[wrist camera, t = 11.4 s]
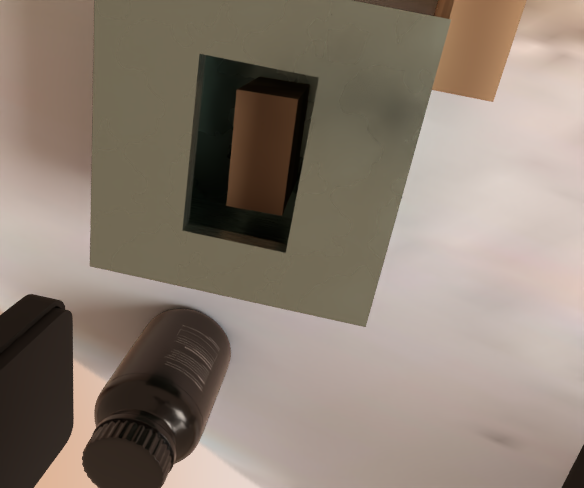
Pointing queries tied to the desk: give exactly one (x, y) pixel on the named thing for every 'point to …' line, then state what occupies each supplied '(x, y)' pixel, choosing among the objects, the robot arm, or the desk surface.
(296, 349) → the desk surface
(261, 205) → the block
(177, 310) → the supplement bottle
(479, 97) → the token
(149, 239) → the box
